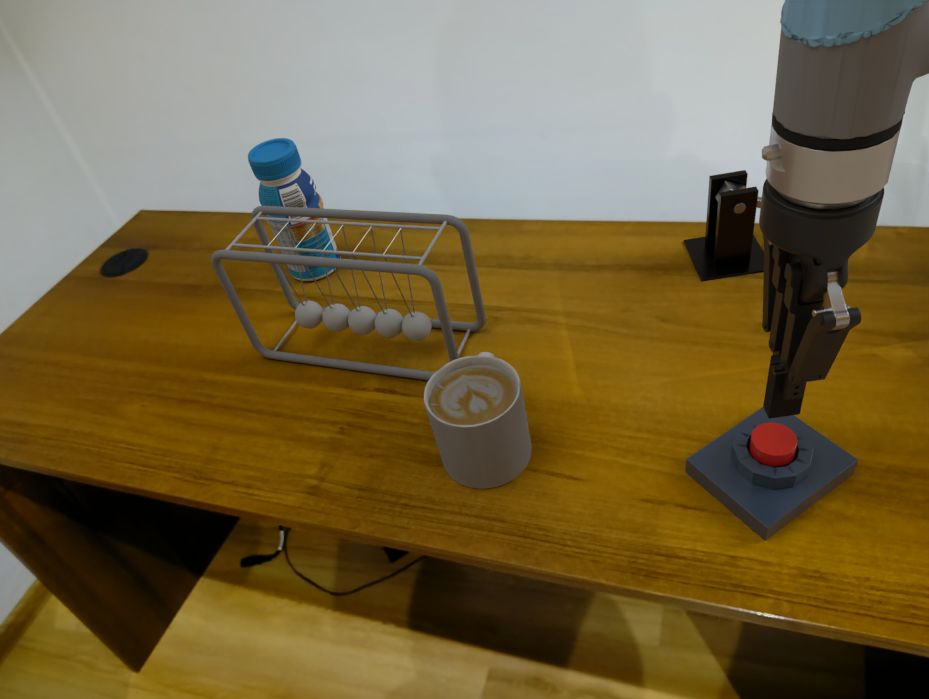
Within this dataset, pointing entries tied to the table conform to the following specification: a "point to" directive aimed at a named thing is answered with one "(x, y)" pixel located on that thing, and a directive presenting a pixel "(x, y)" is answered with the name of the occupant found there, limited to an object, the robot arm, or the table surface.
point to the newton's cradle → (361, 317)
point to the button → (773, 444)
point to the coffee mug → (479, 420)
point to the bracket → (728, 232)
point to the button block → (769, 474)
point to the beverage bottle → (291, 202)
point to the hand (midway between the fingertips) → (781, 410)
